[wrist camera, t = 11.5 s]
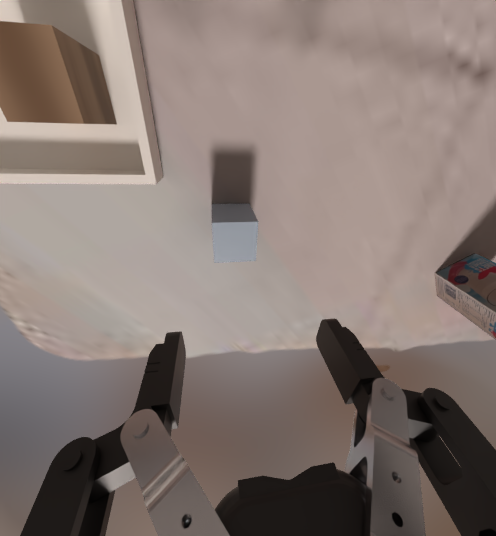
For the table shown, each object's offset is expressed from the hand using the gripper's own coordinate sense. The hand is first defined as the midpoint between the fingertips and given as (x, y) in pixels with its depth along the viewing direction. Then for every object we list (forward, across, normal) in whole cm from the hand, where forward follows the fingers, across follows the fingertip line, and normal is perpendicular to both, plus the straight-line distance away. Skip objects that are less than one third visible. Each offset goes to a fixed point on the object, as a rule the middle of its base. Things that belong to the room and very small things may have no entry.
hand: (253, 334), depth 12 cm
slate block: (+18, 0, 0) cm, 18 cm away
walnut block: (+17, +12, -12) cm, 24 cm away
